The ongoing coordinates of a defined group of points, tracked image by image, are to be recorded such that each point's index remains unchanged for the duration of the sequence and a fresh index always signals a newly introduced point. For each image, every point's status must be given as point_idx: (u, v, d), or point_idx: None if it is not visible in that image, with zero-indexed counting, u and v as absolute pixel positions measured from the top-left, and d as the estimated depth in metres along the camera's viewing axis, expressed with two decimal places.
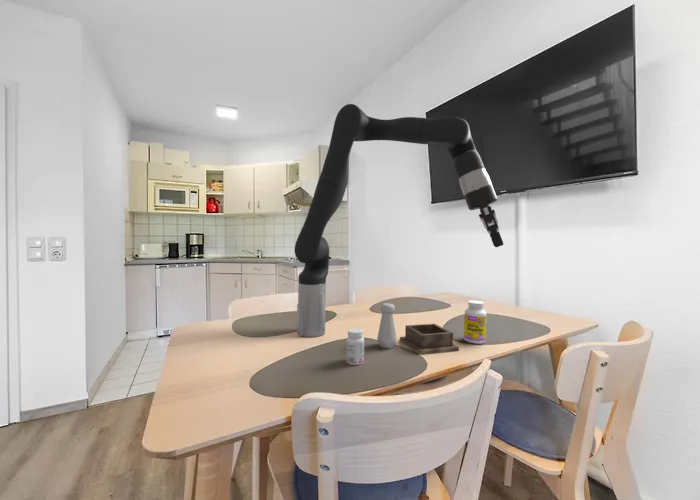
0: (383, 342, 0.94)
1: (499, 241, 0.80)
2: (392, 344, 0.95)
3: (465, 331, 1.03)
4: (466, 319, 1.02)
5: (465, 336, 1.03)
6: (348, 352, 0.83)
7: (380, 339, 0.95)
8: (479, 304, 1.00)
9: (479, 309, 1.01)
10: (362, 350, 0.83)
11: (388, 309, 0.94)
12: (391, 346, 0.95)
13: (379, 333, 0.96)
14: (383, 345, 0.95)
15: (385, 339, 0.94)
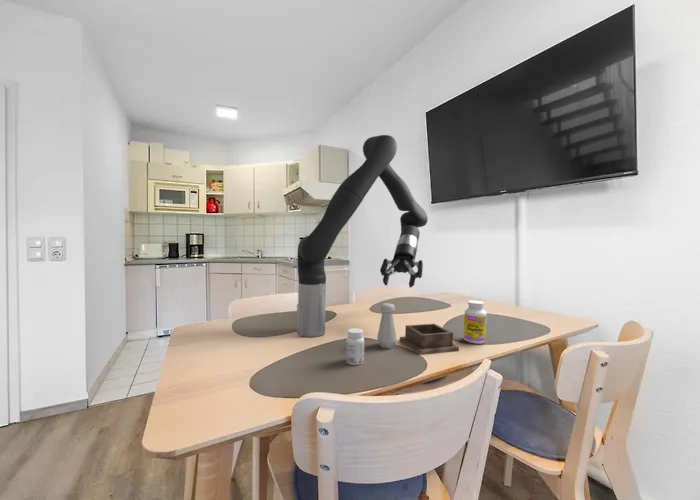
0: (383, 342, 0.94)
1: (413, 284, 1.05)
2: (392, 344, 0.95)
3: (465, 331, 1.03)
4: (466, 319, 1.02)
5: (465, 336, 1.03)
6: (348, 352, 0.83)
7: (380, 339, 0.95)
8: (479, 304, 1.00)
9: (479, 309, 1.01)
10: (362, 350, 0.83)
11: (388, 309, 0.94)
12: (391, 346, 0.95)
13: (379, 333, 0.96)
14: (383, 345, 0.95)
15: (385, 339, 0.94)
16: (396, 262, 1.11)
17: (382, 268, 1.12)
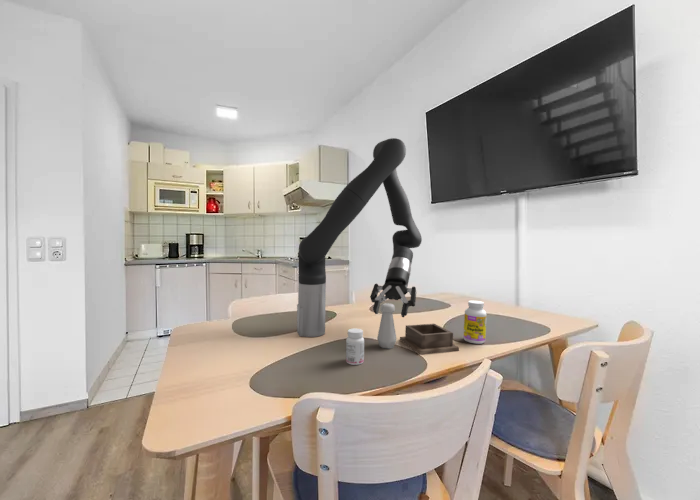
0: (383, 342, 0.94)
1: (406, 313, 0.97)
2: (392, 344, 0.95)
3: (465, 331, 1.03)
4: (466, 319, 1.02)
5: (465, 336, 1.03)
6: (348, 352, 0.83)
7: (380, 339, 0.95)
8: (479, 304, 1.00)
9: (479, 309, 1.01)
10: (362, 350, 0.83)
11: (388, 309, 0.94)
12: (391, 346, 0.95)
13: (379, 333, 0.96)
14: (383, 345, 0.95)
15: (385, 339, 0.94)
16: (387, 288, 1.02)
17: (372, 295, 1.03)
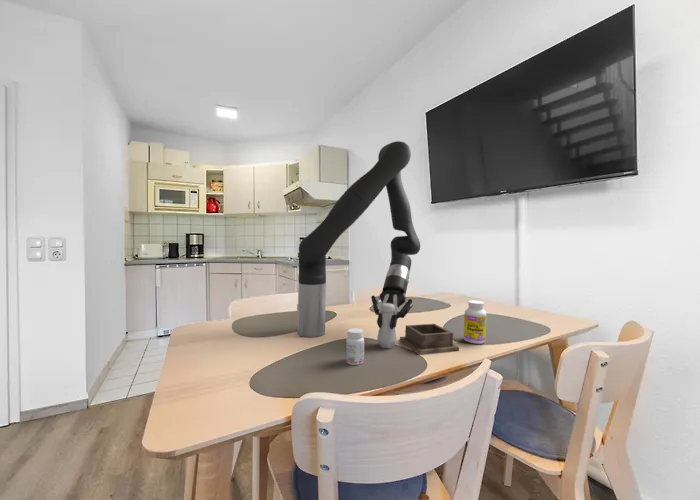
0: (383, 342, 0.94)
1: (395, 325, 0.94)
2: (392, 344, 0.95)
3: (465, 331, 1.03)
4: (466, 319, 1.02)
5: (465, 336, 1.03)
6: (348, 352, 0.83)
7: (380, 339, 0.95)
8: (479, 304, 1.00)
9: (479, 309, 1.01)
10: (362, 350, 0.83)
11: (388, 309, 0.94)
12: (391, 346, 0.95)
13: (379, 333, 0.96)
14: (383, 345, 0.95)
15: (385, 339, 0.94)
16: (386, 297, 0.99)
17: (376, 307, 0.99)
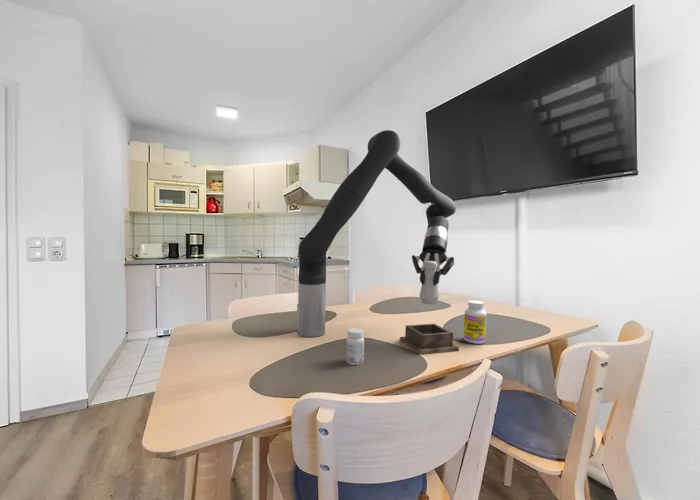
0: (427, 297, 0.95)
1: (438, 281, 0.96)
2: (435, 300, 0.96)
3: (465, 331, 1.03)
4: (466, 319, 1.02)
5: (465, 336, 1.03)
6: (348, 352, 0.83)
7: (423, 295, 0.96)
8: (479, 304, 1.00)
9: (479, 309, 1.01)
10: (362, 350, 0.83)
11: (431, 265, 0.95)
12: (434, 302, 0.96)
13: (422, 290, 0.97)
14: (426, 301, 0.96)
15: (428, 295, 0.95)
16: (427, 256, 1.01)
17: (418, 265, 1.00)
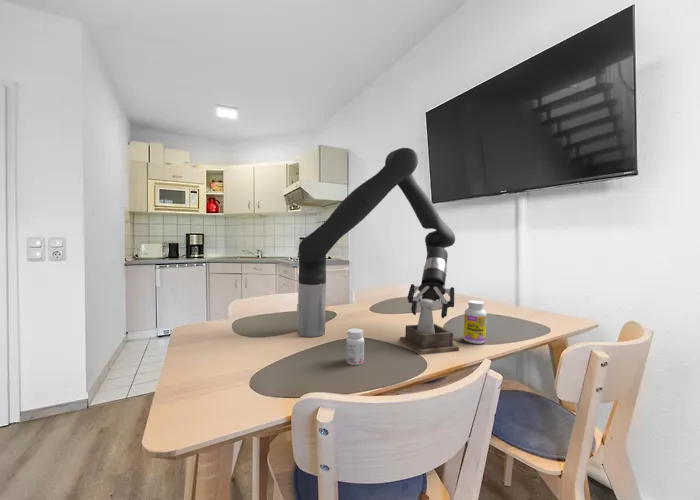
0: None
1: (446, 314, 0.96)
2: None
3: (465, 331, 1.03)
4: (466, 319, 1.02)
5: (465, 336, 1.03)
6: (348, 352, 0.83)
7: None
8: (479, 304, 1.00)
9: (479, 309, 1.01)
10: (362, 350, 0.83)
11: (428, 304, 0.97)
12: None
13: (418, 328, 0.99)
14: None
15: (424, 333, 0.97)
16: (425, 289, 1.01)
17: (409, 295, 1.02)
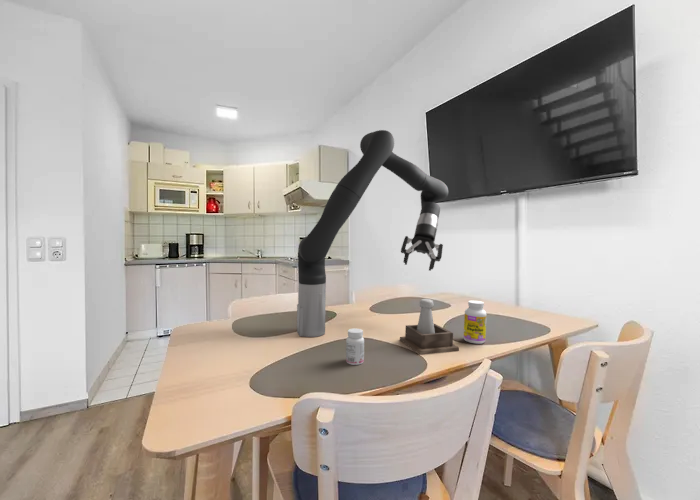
0: None
1: (433, 267, 1.11)
2: None
3: (465, 331, 1.03)
4: (466, 319, 1.02)
5: (465, 336, 1.03)
6: (348, 352, 0.83)
7: None
8: (479, 304, 1.00)
9: (479, 309, 1.01)
10: (362, 350, 0.83)
11: (428, 304, 0.97)
12: None
13: (418, 328, 0.99)
14: None
15: (424, 333, 0.97)
16: (418, 243, 1.13)
17: (403, 247, 1.14)
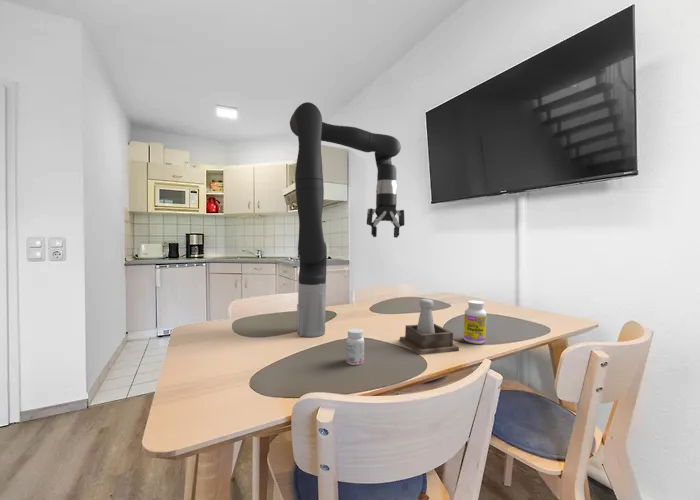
0: None
1: None
2: None
3: (465, 331, 1.03)
4: (466, 319, 1.02)
5: (465, 336, 1.03)
6: (348, 352, 0.83)
7: None
8: (479, 304, 1.00)
9: (479, 309, 1.01)
10: (362, 350, 0.83)
11: (428, 304, 0.97)
12: None
13: (418, 328, 0.99)
14: None
15: (424, 333, 0.97)
16: (383, 214, 1.16)
17: (370, 221, 1.15)
